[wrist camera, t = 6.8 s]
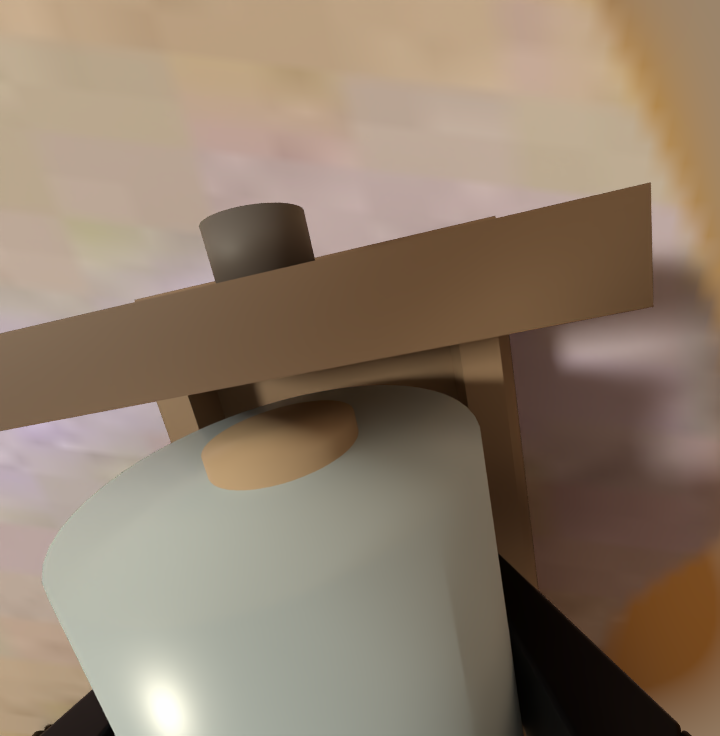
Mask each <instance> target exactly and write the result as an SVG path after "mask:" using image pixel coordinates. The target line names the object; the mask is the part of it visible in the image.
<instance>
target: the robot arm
mask: <svg viewBox="0 0 720 736" xmlns="http://www.w3.org/2000/svg"><path fill="white" fill-rule="evenodd" d="M498 558H499V565H500V572H501V579H502V586H503V593H504V600H505V607H506V614H507V621H508V628H509V635H510V642H511V650H512V657H513V664H514V671H515V678H516V685H517V692H518V699H519V706H520V713H521V720H522V725H523V728H524V731H525V733H526V736H691V735H690V734H689V733H688V732H687V731H682V732H681V728H680V725H679V724H678V723H677V722H676V721H675V720H674V719H673V718H672V717H671V716H670V715H669V714H668V713H667V712H666V711H665V710H664V709H662V708H661V707H660V706H659V705H658V704H657V703H656V702H655V701H654V700H653V699H652V698H651V697H650V696H649V695H648V694H647V693H646V692H645V691H644V690H642V689H641V688H640V687H639V686H638V685H637V684H636V683H635V682H634V681H633V680H632V679H631V678H630V677H629V676H628V675H627V674H626V673H625V672H623V671H622V670H621V669H620V668H619V667H618V666H617V665H616V664H615V663H614V662H613V661H612V660H611V659H610V658H609V657H608V656H607V655H606V654H604V653H603V652H602V651H601V650H600V649H599V648H598V647H597V646H596V645H595V644H594V643H593V642H592V641H591V640H590V639H589V638H588V637H587V636H585V635H584V634H583V633H582V632H581V631H580V630H579V629H578V628H577V627H576V626H575V625H574V624H573V623H572V622H571V621H570V620H569V619H568V618H566V617H565V616H564V615H563V614H562V613H561V612H560V611H559V610H558V609H557V608H556V607H555V606H554V605H553V604H552V603H551V602H550V601H549V600H548V599H546V598H545V597H544V596H543V595H542V594H541V593H540V592H539V591H538V590H537V589H536V588H535V587H534V586H533V585H532V584H531V583H530V582H529V581H527V580H526V579H525V578H524V577H523V576H522V575H521V574H520V573H519V572H518V571H517V570H516V569H515V568H514V567H513V566H512V565H511V564H510V563H508V562H507V561H506V560H505V559H504V558H503V557H502V556H501V555H500V554H499V553H498ZM32 736H115V734H114V732H113V730H112V727H111V725H110V723H109V721H108V719H107V717H106V715H105V713H104V711H103V709H102V707H101V705H100V703H99V701H98V699H97V697H96V695H95V693H94V691H93V689H92V690H91V691H90V692H89V693H88V694H87V695H86V696H84V697H83V698H82V699H81V700H80V701H79V702H78V703H76V704H75V705H74V706H73V707H72V708H71V709H70V710H68V711H67V712H66V713H65V714H64V715H63V716H62V717H61V718H59V719H58V720H57V721H56V722H55V723H54V724H53V725H51V726H50V727H49V728H48V729H47V730H44V731H37V732H35V733H34V734H33V735H32Z"/></svg>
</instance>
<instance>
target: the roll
mask: <svg viewBox="0 0 720 736" xmlns="http://www.w3.org/2000/svg"><path fill="white" fill-rule="evenodd" d="M42 584H43V587H44V589H45V592H46V594H47V597H48V599H49V601H50V603H51V606H52V608H53V610H54V612H55V614H56V616H57V618H58V620H59V622H60V624H61V626H62V628H63V630H64V632H65V634H66V636H67V638H68V640H69V642H70V644H71V646H72V648H73V650H74V652H75V654H76V656H77V658H78V660H79V662H80V664H81V667H82V669H83V671H84V673H85V675H86V677H87V679H88V681H89V683H90V685H91V687H92V689H93V691H94V693H95V695H96V697H97V699H98V701H99V703H100V705H101V707H102V709H103V711H104V713H105V715H106V717H107V719H108V721H109V723H110V725H111V727H112V730H113V732H114V734H115V736H524V734H523V727H522V720H521V713H520V706H519V699H518V692H517V685H516V678H515V671H514V664H513V657H512V650H511V642H510V635H509V628H508V621H507V614H506V607H505V600H504V593H503V586H502V579H501V572H500V565H499V558H498V551H497V544H496V537H495V530H494V523H493V516H492V509H491V502H490V495H489V488H488V480H487V473H486V466H485V459H484V452H483V445H482V438H481V431H480V426H479V424H478V422H477V420H476V417H475V416H474V414H473V413H472V412H471V411H470V410H469V409H468V408H467V407H466V406H465V405H463V404H462V403H461V402H459V401H458V400H456V399H454V398H452V397H450V396H448V395H445V394H442V393H439V392H436V391H433V390H428V389H424V388H418V387H411V386H398V385H371V386H356V387H347V388H339V389H332V390H326V391H320V392H315V393H310V394H305V395H301V396H297V397H292V398H288V399H285V400H281V401H277V402H274V403H270V404H267V405H264V406H260V407H257V408H254V409H251V410H248V411H245V412H242V413H239V414H237V415H234V416H231V417H229V418H226V419H223V420H221V421H219V422H216V423H214V424H211V425H209V426H206V427H204V428H202V429H200V430H197V431H195V432H193V433H191V434H189V435H187V436H185V437H183V438H181V439H178V440H176V441H174V442H173V443H171V444H169V445H167V446H165V447H163V448H161V449H159V450H158V451H156V452H154V453H152V454H151V455H149V456H147V457H146V458H144V459H142V460H140V461H139V462H137V463H136V464H134V465H133V466H131V467H130V468H128V469H127V470H125V471H124V472H122V473H121V474H119V475H118V476H117V477H115V478H114V479H112V480H111V481H110V482H108V483H107V484H106V485H104V486H103V487H102V488H101V489H100V490H98V491H97V492H96V493H95V494H94V495H92V496H91V497H90V498H89V499H88V500H87V501H86V502H85V503H84V504H83V505H82V506H80V507H79V508H78V509H77V510H76V511H75V512H74V513H73V514H72V516H71V517H70V518H69V519H68V520H67V522H66V523H65V524H64V525H63V526H62V528H61V529H60V530H59V532H58V533H57V535H56V537H55V538H54V540H53V542H52V543H51V545H50V546H49V549H48V551H47V554H46V557H45V560H44V562H43V569H42Z"/></svg>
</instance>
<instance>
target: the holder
mask: <svg viewBox="0 0 720 736" xmlns="http://www.w3.org/2000/svg"><path fill="white" fill-rule="evenodd" d="M199 227H200V231H201V234H202V237H203V241H204V244H205V248H206V251H207V254H208V258H209V261H210V265H211V268H212V271H213V275H214V278H215V281H214V282H209V283H205V284H201V285H197V286H192V287H188V288H184V289H179V290H175V291H171V292H167V293H162V294H158V295H154V296H149V297H145V298H141V299H137V300H135V302H134V303H130V304H125V305H121V306H117V307H112V308H108V309H104V310H100V311H95V312H91V313H87V314H82V315H78V316H74V317H69V318H65V319H61V320H56V321H52V322H48V323H44V324H39V325H35V326H31V327H26V328H22V329H18V330H13V331H9V332H5V333H0V431H3V430H8V429H14V428H19V427H24V426H29V425H35V424H40V423H45V422H50V421H56V420H61V419H66V418H71V417H77V416H82V415H87V414H92V413H98V412H103V411H108V410H113V409H119V408H124V407H129V406H134V405H140V404H145V403H150V402H155V401H157V404H158V407H159V410H160V413H161V415H162V418H163V421H164V424H165V427H166V429H167V432H168V435H169V438H170V441H171V443H173V442H174V441H176V440H178V439H181V438H183V437H185V436H187V435H189V434H191V433H193V432H195V431H197V430H200V429H202V428H204V427H206V426H209V425H211V424H214V423H216V422H219V421H221V420H223V419H226V418H229V417H231V416H234V415H237V414H239V413H242V412H245V411H248V410H251V409H254V408H257V407H260V406H264V405H267V404H270V403H274V402H277V401H281V400H285V399H288V398H292V397H297V396H301V395H305V394H310V393H315V392H320V391H326V390H332V389H339V388H347V387H356V386H371V385H398V386H411V387H418V388H424V389H428V390H433V391H436V392H439V393H442V394H445V395H448V396H450V397H452V398H454V399H456V400H458V401H459V402H461V403H462V404H463V405H465V406H466V407H467V408H468V409H469V410H470V411H471V412H472V413H473V414H474V416H475V417H476V420H477V422H478V424H479V426H480V431H481V438H482V445H483V452H484V459H485V466H486V473H487V480H488V488H489V495H490V502H491V509H492V516H493V523H494V530H495V537H496V544H497V551H498V553H499V554H500V555H501V556H502V557H503V558H504V559H505V560H506V561H507V562H508V563H510V564H511V565H512V566H513V567H514V568H515V569H516V570H517V571H518V572H519V573H520V574H521V575H522V576H523V577H524V578H525V579H526V580H527V581H529V582H530V583H531V584H532V585H533V586H534V587H535V588H536V589H537V590H538V582H537V574H536V565H535V556H534V548H533V539H532V530H531V522H530V513H529V504H528V496H527V487H526V478H525V469H524V461H523V452H522V443H521V435H520V426H519V417H518V409H517V400H516V391H515V382H514V374H513V365H512V356H511V348H510V339H509V334H513V333H518V332H523V331H528V330H534V329H539V328H544V327H549V326H555V325H560V324H565V323H571V322H576V321H581V320H586V319H592V318H597V317H602V316H607V315H613V314H618V313H623V312H628V311H634V310H639V309H644V308H649V307H653V268H652V222H651V183H646V184H642V185H638V186H633V187H629V188H625V189H620V190H616V191H612V192H608V193H603V194H599V195H595V196H590V197H586V198H582V199H577V200H573V201H569V202H564V203H560V204H556V205H552V206H547V207H543V208H539V209H534V210H530V211H526V212H521V213H517V214H513V215H508V216H504V217H500V218H496V217H495V216H492V217H488V218H484V219H480V220H475V221H471V222H467V223H462V224H458V225H454V226H450V227H445V228H441V229H437V230H432V231H428V232H424V233H420V234H415V235H411V236H407V237H402V238H398V239H394V240H389V241H385V242H381V243H377V244H372V245H368V246H364V247H359V248H355V249H351V250H347V251H342V252H338V253H334V254H329V255H325V256H321V257H317V258H314V254H313V249H312V245H311V241H310V236H309V232H308V227H307V223H306V219H305V214H304V210H303V209H302V208H301V207H300V206H297V205H294V204H288V203H260V204H252V205H245V206H240V207H235V208H231V209H228V210H224V211H221V212H218V213H216V214H213V215H211V216H209V217H207V218H206V219H204V220H203V221H202V222H201V223H200V225H199ZM522 727H523V725H522ZM523 734H524V736H526V733H525V731H524V728H523Z"/></svg>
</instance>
